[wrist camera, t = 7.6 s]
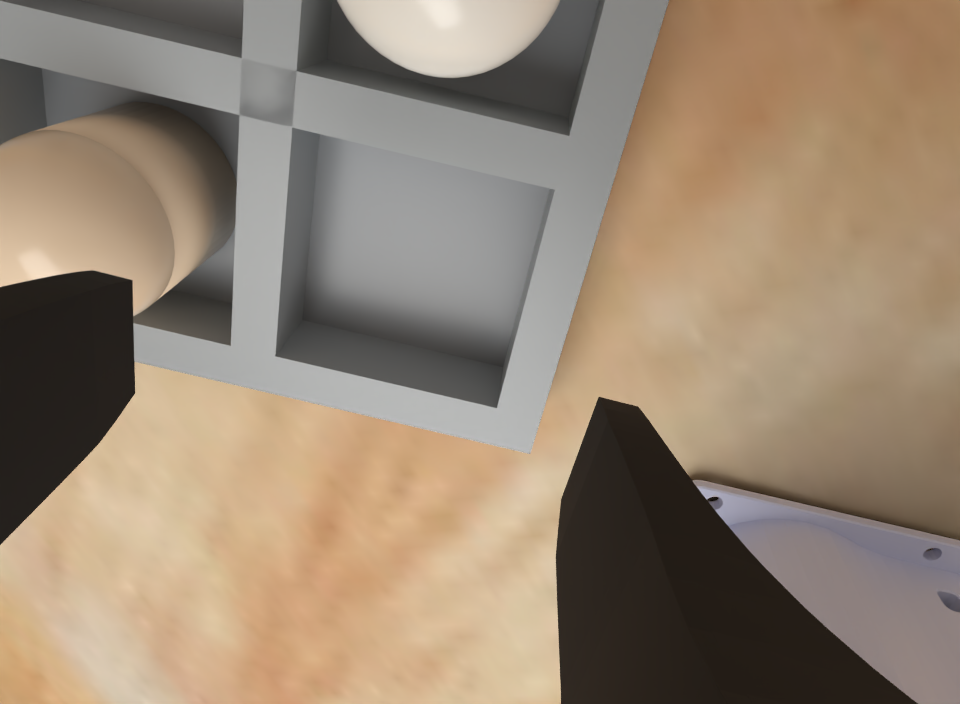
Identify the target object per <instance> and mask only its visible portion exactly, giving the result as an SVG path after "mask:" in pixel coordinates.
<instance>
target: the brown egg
mask: <svg viewBox="0 0 960 704" xmlns="http://www.w3.org/2000/svg"><path fill="white" fill-rule="evenodd" d="M236 195H237V183H236V179H235V176H234V173H233V171H232V168H231V166H230V163H229V162H228V160H227V158H226V156H225V154H224V153H223V151H222V150H221V148H220V147H219V145H218V144H217V143H216V142H215V140H214V139H213V138H212V137H211V136H210V135H209V134H208V133H207V132H206V131H205V130H204V129H203V128H202V127H201V126H200V125H198V124H197V123H196V122H194V121H193V120H192V119H190V118H189V117H187V116H185V115H184V114H182V113H180V112H178V111H176V110H174V109H171V108H169V107H166V106H163V105H159V104H154V103H148V102H131V103H125V104H121V105H118V106H114V107H111V108H108V109H104V110H101V111H98V112H94V113H91V114H88V115H85V116H81V117H78V118H75V119H71V120H68V121H65V122H61V123H58V124H55V125H52V126H48V127H45V128H42V129H38V130H35V131H32V132H28V133H25V134H22V135H19V136H17V137H15V138H12V139H10V140H8V141H6V142H4V143H2V144H1V145H0V287H2V286H7V285H11V284H16V283H20V282H25V281H30V280H35V279H39V278H44V277H50V276H55V275H60V274H66V273H72V272H80V271H90V270H94V271H98V272H102V273H106V274H110V275H114V276H118V277H122V278H126V279H130V280H133V316H135V315H137V314H139V313H140V312H142V311H144V310H145V309H147V308H148V307H149V306H151V305H152V304H153V303H154V302H156V301H157V300H158V299H159V298H161V297H162V296H163V295H164V294H165V293H167V292H168V291H169V290H170V289H172V288H173V287H174V286H175V285H177V284H178V283H179V282H180V281H181V280H183V279H184V278H185V277H186V276H188V275H189V274H190V273H191V272H193V271H194V270H195V269H196V268H197V267H199V266H200V265H201V264H202V263H204V262H205V261H206V260H207V259H209V258H210V257H211V256H212V255H213V254H215V253H216V252H217V251H218V250H220V249H221V248H222V247H223V246H224V245H225V243H226V242H227V241H228V239H229V238H230V236H231V235H232V233H233V230H234V228H235V222H236Z"/></svg>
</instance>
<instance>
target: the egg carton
mask: <svg viewBox="0 0 960 704" xmlns="http://www.w3.org/2000/svg"><path fill="white" fill-rule="evenodd" d="M668 2H669V0H560V2H559V4H558V7H557V9H556V11H555V12H554V14H553V16H552V17H551V19H550V21H549V22H548V24H547V25H546V26H545V28H544V29H543V30H542V32H541V33H540V34H539V36H538V37H537V38H536V39H535V40H534V41H533V42H532V43H531V44H530V45H529V46H528V47H527V48H526V49H525V50H523V51H522V52H521V53H519V54H518V55H517V56H515V57H514V58H513V59H511V60H509V61H508V62H506V63H504V64H502V65H501V66H499V67H497V68H494V69H492V70H489V71H487V72H484V73H481V74H477V75H473V76H468V77H459V78H439V77H433V76H428V75H423V74H420V73H417V72H414V71H410V70H408V69H406V68H404V67H402V66H400V65H398V64H396V63H394V62H392V61H391V60H389V59H388V58H386V57H384V56H383V55H381V54H380V53H379V52H378V51H376V50H375V49H374V48H373V47H372V46H370V45H369V44H368V43H367V42H366V41H365V40H364V39H363V38H362V37H361V35H360V34H359V33H358V32H357V31H356V30H355V28H354V27H353V26H352V24H351V23H350V22H349V20H348V19H347V17H346V16H345V14H344V12H343V10H342V9H341V7H340V5H339V3H338V1H337V0H0V145H1V144H2V143H4V142H6V141H8V140H10V139H12V138H15V137H17V136H19V135H22V134H25V133H28V132H32V131H35V130H38V129H42V128H45V127H48V126H52V125H55V124H58V123H61V122H65V121H68V120H71V119H75V118H78V117H81V116H85V115H88V114H91V113H94V112H98V111H101V110H104V109H108V108H111V107H114V106H118V105H121V104H125V103H131V102H148V103H154V104H159V105H163V106H166V107H169V108H171V109H174V110H176V111H178V112H180V113H182V114H184V115H185V116H187V117H189V118H190V119H192V120H193V121H194V122H196V123H197V124H198V125H200V126H201V127H202V128H203V129H204V130H205V131H206V132H207V133H208V134H209V135H210V136H211V137H212V138H213V139H214V140H215V142H216V143H217V144H218V145H219V147H220V148H221V150H222V151H223V153H224V154H225V156H226V158H227V160H228V162H229V163H230V166H231V168H232V171H233V173H234V176H235V179H236V183H237V195H236V222H235V228H234V230H233V233H232V235H231V236H230V238H229V239H228V241H227V242H226V243H225V245H224V246H223V247H222V248H221V249H220V250H218V251H217V252H216V253H215V254H213V255H212V256H211V257H210V258H209V259H207V260H206V261H205V262H204V263H202V264H201V265H200V266H199V267H197V268H196V269H195V270H194V271H193V272H191V273H190V274H189V275H188V276H186V277H185V278H184V279H183V280H181V281H180V282H179V283H178V284H177V285H175V286H174V287H173V288H172V289H170V290H169V291H168V292H167V293H165V294H164V295H163V296H162V297H161V298H159V299H158V300H157V301H156V302H154V303H153V304H152V305H151V306H149V307H148V308H147V309H145V310H144V311H142V312H140V313H139V314H137V315H135V316H133V325H134V362H139V363H143V364H147V365H151V366H156V367H160V368H164V369H169V370H173V371H177V372H181V373H186V374H190V375H194V376H199V377H203V378H207V379H211V380H216V381H220V382H224V383H228V384H233V385H237V386H241V387H246V388H250V389H254V390H258V391H263V392H267V393H271V394H276V395H280V396H284V397H288V398H293V399H297V400H301V401H306V402H310V403H314V404H318V405H323V406H327V407H331V408H336V409H340V410H344V411H348V412H353V413H357V414H361V415H366V416H370V417H374V418H378V419H383V420H387V421H391V422H396V423H400V424H404V425H408V426H413V427H417V428H421V429H426V430H430V431H434V432H438V433H443V434H447V435H451V436H456V437H460V438H464V439H468V440H473V441H477V442H481V443H486V444H490V445H494V446H498V447H503V448H507V449H511V450H516V451H520V452H524V453H528V454H530V453H531V450H532V446H533V443H534V440H535V437H536V433H537V430H538V427H539V423H540V420H541V417H542V414H543V410H544V407H545V404H546V401H547V397H548V394H549V391H550V388H551V384H552V381H553V378H554V374H555V371H556V368H557V365H558V361H559V358H560V355H561V352H562V348H563V345H564V342H565V338H566V335H567V332H568V329H569V325H570V322H571V319H572V316H573V312H574V309H575V306H576V303H577V299H578V296H579V293H580V289H581V286H582V283H583V280H584V276H585V273H586V270H587V267H588V263H589V260H590V257H591V254H592V250H593V247H594V244H595V240H596V237H597V234H598V231H599V227H600V224H601V221H602V218H603V214H604V211H605V208H606V205H607V201H608V198H609V195H610V191H611V188H612V185H613V182H614V178H615V175H616V172H617V169H618V165H619V162H620V159H621V156H622V152H623V149H624V146H625V142H626V139H627V136H628V133H629V129H630V126H631V123H632V120H633V116H634V113H635V110H636V106H637V103H638V100H639V97H640V93H641V90H642V87H643V84H644V80H645V77H646V74H647V71H648V67H649V64H650V61H651V57H652V54H653V51H654V48H655V44H656V41H657V38H658V35H659V31H660V28H661V25H662V22H663V18H664V15H665V12H666V8H667V5H668Z"/></svg>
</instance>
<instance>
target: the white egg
mask: <svg viewBox="0 0 960 704" xmlns="http://www.w3.org/2000/svg"><path fill="white" fill-rule="evenodd" d="M337 1H338V3H339V5H340V7H341V9H342V10H343V12H344V14H345V16H346V17H347V19H348V20H349V22H350V23H351V24H352V26H353V27H354V28H355V30H356V31H357V32H358V33H359V34H360V35H361V37H362V38H363V39H364V40H365V41H366V42H367V43H368V44H369V45H370V46H372V47H373V48H374V49H375V50H376V51H378V52H379V53H380V54H381V55H383V56H384V57H386V58H388V59H389V60H391V61H392V62H394V63H396V64H398V65H400V66H402V67H404V68H406V69H408V70H410V71H414V72H417V73H420V74H423V75H428V76H433V77H439V78H459V77H468V76H473V75H477V74H481V73H484V72H487V71H489V70H492V69H494V68H497V67H499V66H501V65H502V64H504V63H506V62H508V61H509V60H511V59H513V58H514V57H515V56H517V55H518V54H519V53H521V52H522V51H523V50H525V49H526V48H527V47H528V46H529V45H530V44H531V43H532V42H533V41H534V40H535V39H536V38H537V37H538V36H539V34H540V33H541V32H542V30H543V29H544V28H545V26H546V25H547V24H548V22H549V21H550V19H551V17H552V16H553V14H554V12H555V11H556V9H557V7H558V4H559V2H560V0H337Z"/></svg>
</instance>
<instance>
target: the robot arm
mask: <svg viewBox="0 0 960 704" xmlns="http://www.w3.org/2000/svg"><path fill="white" fill-rule="evenodd" d="M134 394H135V372H134V325H133V280H130V279H126V278H122V277H118V276H114V275H110V274H106V273H102V272H98V271H94V270H90V271H80V272H72V273H66V274H60V275H55V276H50V277H44V278H39V279H35V280H30V281H25V282H20V283H16V284H11V285H7V286H2V287H0V545H1V544H2V543H3V542H4V541H5V539H6V538H7V537H8V536H9V535H10V534H11V533H12V532H13V531H14V530H15V529H16V528H17V527H18V526H19V525H20V524H21V523H22V522H23V521H24V520H25V519H26V518H27V517H28V516H29V515H30V514H31V513H32V512H33V511H34V510H35V509H36V508H37V507H38V506H39V505H40V504H41V503H42V502H43V501H44V500H45V499H46V498H47V497H48V496H49V495H50V494H51V493H52V492H53V491H54V490H55V489H56V488H57V487H58V486H59V485H60V484H61V483H62V482H63V480H64V479H65V478H66V477H67V476H68V475H69V474H70V473H71V472H72V471H73V470H74V469H75V468H76V467H77V466H78V465H79V464H80V463H81V462H82V461H83V460H84V459H85V458H86V457H87V456H88V454H89V453H90V452H91V451H92V450H93V449H94V448H95V447H96V446H97V445H98V444H99V443H100V441H101V440H102V439H103V437H104V436H105V435H106V433H107V432H108V431H109V429H110V428H111V427H112V425H113V424H114V423H115V421H116V420H117V418H118V417H119V416H120V414H121V413H122V411H123V410H124V408H125V407H126V405H127V404H128V402H129V401H130V400H131V398H132V397H133V395H134ZM711 497H719V499H718V500H716V501H707V499H708V498H711ZM930 548H933V549H932V550H930V551H926V550H927V549H930ZM556 576H557V605H558V629H559V654H560V679H561V704H960V540H956V539H952V538H947V537H943V536H939V535H935V534H930V533H926V532H922V531H917V530H913V529H909V528H905V527H900V526H896V525H892V524H887V523H883V522H879V521H875V520H870V519H866V518H862V517H857V516H853V515H849V514H845V513H840V512H836V511H832V510H828V509H823V508H819V507H815V506H810V505H806V504H802V503H798V502H793V501H789V500H785V499H780V498H776V497H772V496H768V495H763V494H759V493H755V492H750V491H746V490H742V489H738V488H733V487H729V486H725V485H721V484H716V483H712V482H708V481H703V480H693V481H692V480H691V479H690V477H689V476H688V475H687V473H686V472H685V470H684V469H683V468H682V466H681V465H680V464H679V462H678V461H677V460H676V458H675V457H674V455H673V454H672V452H671V451H670V450H669V448H668V447H667V445H666V444H665V443H664V441H663V440H662V438H661V437H660V436H659V434H658V433H657V431H656V430H655V429H654V427H653V426H652V424H651V423H650V422H649V420H648V419H647V417H646V416H645V415H644V413H643V412H642V411H641V410H640V408H639V407H637V406H633V405H629V404H625V403H621V402H617V401H613V400H609V399H605V398H601V397H599V398H598V400H597V403H596V406H595V409H594V411H593V414H592V417H591V420H590V422H589V425H588V428H587V430H586V433H585V436H584V439H583V441H582V444H581V447H580V450H579V452H578V455H577V458H576V461H575V463H574V466H573V469H572V471H571V474H570V477H569V480H568V482H567V485H566V488H565V491H564V493H563V496H562V499H561V508H560V517H559V527H558V538H557V550H556Z"/></svg>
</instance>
